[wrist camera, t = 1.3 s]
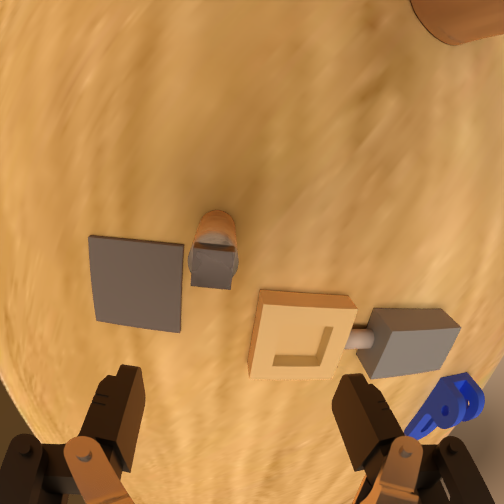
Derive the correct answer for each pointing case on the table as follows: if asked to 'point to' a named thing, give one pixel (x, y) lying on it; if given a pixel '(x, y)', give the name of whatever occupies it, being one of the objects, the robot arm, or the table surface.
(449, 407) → the bracket
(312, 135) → the table surface
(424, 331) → the tray with grey block
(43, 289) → the table surface
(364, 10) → the table surface
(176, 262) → the mat
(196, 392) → the table surface
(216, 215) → the square capped bottle
